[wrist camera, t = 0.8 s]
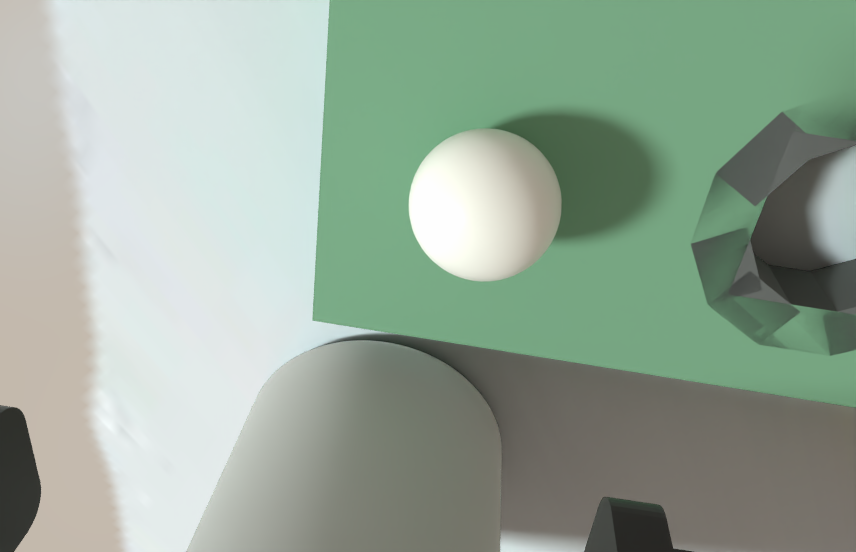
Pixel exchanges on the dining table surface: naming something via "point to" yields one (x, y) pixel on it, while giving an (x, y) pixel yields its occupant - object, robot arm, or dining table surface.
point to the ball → (485, 204)
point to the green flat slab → (599, 179)
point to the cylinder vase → (360, 459)
